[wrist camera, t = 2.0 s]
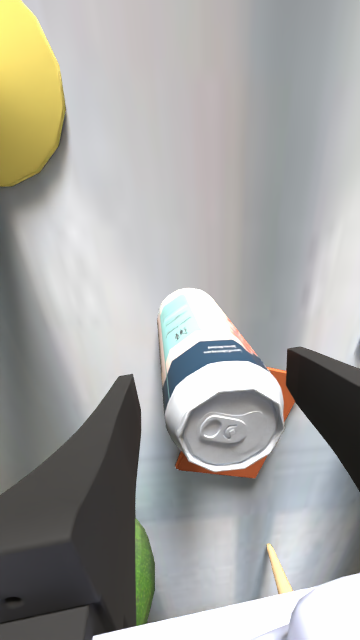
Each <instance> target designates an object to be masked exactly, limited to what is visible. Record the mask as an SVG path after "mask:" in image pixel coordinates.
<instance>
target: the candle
mask: <svg viewBox="0 0 360 640" xmlns="http://www.w3.org/2000/svg"><path fill="white" fill-rule="evenodd" d="M65 111H66V107H65V100H64V94H63V87H62V81H61V74H60V67H59V64H58V62H57V60H56V58H55V55H54V53H53V51H52V49H51V47H50V45H49V43H48V41H47V39H46V37H45V35H44V32H43V30H42V28H41V26H40V24H39V22H38V20H37V18H36V17H35V15H34V14H33V13H32V12H31V11H30V10H29V9H28V8H27V7H26V6H25V4H24V3H23V2H22V1H21V0H0V187H6V186H14V185H16V184H18V183H20V182H22V181H24V180H26V179H28V178H30V177H32V176H34V175H36V174H38V173H40V171H41V170H42V169H43V167H44V166H45V164H46V163H47V162H48V160H49V159H50V157H51V156H52V154H53V153H54V152H55V150H56V149H57V147H58V146H59V141H60V136H61V131H62V126H63V121H64V116H65Z"/></svg>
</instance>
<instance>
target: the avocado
mask: <svg viewBox="0 0 360 640" xmlns="http://www.w3.org/2000/svg"><path fill="white" fill-rule="evenodd" d="M135 575H136V624H137V626H140V625H144V624H147V620H148V616H149V612H150V608H151V603H152V599H153V595H154V591H155V562H154V557H153V553H152V550H151V546H150V543H149V539H148V536H147V534H146V532H145V529H144V528H143V527H142V525H141V524H140V523H139V521H138V520H137V519H136V518H135Z"/></svg>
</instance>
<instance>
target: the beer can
mask: <svg viewBox="0 0 360 640" xmlns="http://www.w3.org/2000/svg"><path fill="white" fill-rule="evenodd" d="M157 325H158V338H159V351H160V364H161V377H162V390H163V403H164V416H165V422H166V428H167V431H168V433H169V435H170V437H171V439H172V441H173V442H174V443H175V444H176V445H177V446H178V448H179V449H180V450H181V451H182V452H183V453H184V454H185V456H186V457H187V459H188V461H189V462H192V463H194V464H196V465H199V466H201V467H203V468H205V469H208V470H210V471H212V472H220V471H229V470H238V469H245V468H247V467H248V466H250V465H252V464H253V463H255V462H257V461H258V460H260V459H262V458H263V457H265V456H267V455H268V454H270V453H271V452H272V451H273V449H274V447H275V445H276V444H277V442H278V440H279V438H280V437H281V435H282V433H283V431H284V430H285V425H284V416H283V410H284V401H283V395H282V390H281V387H280V385H279V384H278V382H277V380H276V379H275V377H274V376H273V375H272V374H271V372H270V371H269V370H268V368H267V367H266V366H265V365H264V363H263V362H262V361H261V360H260V358H259V357H258V356H257V354H256V353H255V352H254V351H253V349H252V348H251V347H250V346H249V344H248V343H247V342H246V340H245V339H244V338H243V337H242V335H241V334H240V333H239V332H238V330H237V329H236V328H235V326H234V325H233V324H232V323H231V321H230V320H229V319H228V318H227V316H226V315H225V314H224V313H223V311H222V310H221V309H220V307H219V306H218V305H217V304H216V302H215V301H214V300H213V299H212V298H211V297H210V296H209V295H208V294H207V293H205V292H204V291H201V290H198V289H194V288H185V289H180V290H178V291H175V292H173V293H172V294H170V295H169V296H167V297H166V299H165V300H164V301H163V302H162V304H161V306H160V308H159V311H158V316H157Z"/></svg>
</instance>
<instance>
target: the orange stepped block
mask: <svg viewBox="0 0 360 640" xmlns="http://www.w3.org/2000/svg"><path fill="white" fill-rule="evenodd" d="M267 368H268V367H267ZM268 370H269V371H270V372H271V374H272V375H273V376H274V377H275V379H276V380H277V382H278V384H279V385H280V387H281V390H282V395H283V401H284V410H283V416H284V422H285V420H286V418H287V416H288V414H289V412H290V410H291V408H292V406H293V405H294V403H295V400H294V399H293V397H292V395H291V394H290V392H289V390H288V388H287V386H286V371H283V370H278V369H273V368H268ZM266 457H267V456H265V457H263V458H262V459H260V460H258V461H257V462H255V463H253V464H252V465H250V466H248V467H247V468H245V469H238V470H229V471H220V472H212V471H210V470H208V469H205V468H203V467H201V466H199V465H196V464H194V463H192V462H189V461H188V459H187V457H186V456H185V454H184V453H183V452H182V451H181V452H180V454H179V457H178V460H177V462H176V465H175V467H176V469H178V470H181V471H191V472H200V473H210V474H219V475H229V476H238V477H248V478H256V476H257V474H258V472H259V470H260V469H261V467H262V465H263V463H264V461H265V459H266Z"/></svg>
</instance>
